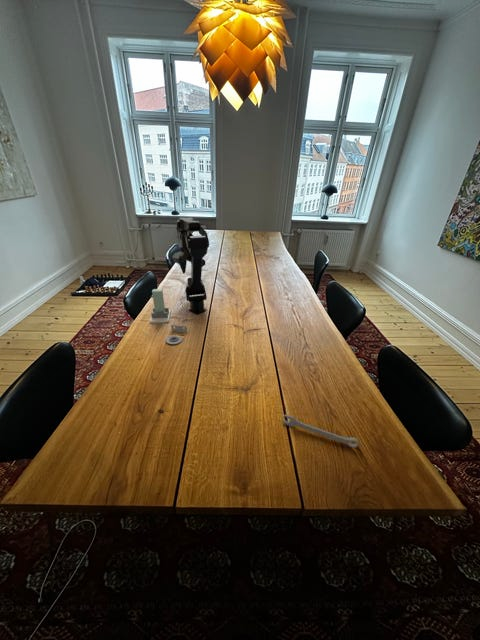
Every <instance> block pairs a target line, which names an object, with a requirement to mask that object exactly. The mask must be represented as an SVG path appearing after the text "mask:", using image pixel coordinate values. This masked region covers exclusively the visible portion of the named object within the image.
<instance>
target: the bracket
mask: <svg viewBox="0 0 480 640" xmlns="http://www.w3.org/2000/svg"><path fill="white" fill-rule="evenodd" d="M170 327H171V328H170V329H171V332H175V331H176V332H177V333H178V332H179V333H188V332H187V326H186V325H180V324H171V325H170ZM172 339H173V340H172ZM184 339H185V336H184V337H183V338H181V337H180V336H179V337H177V336H176V335H175V336H173V335H171V336H170V335H169V334H168V336H167V337H166V339H165V343H166V344H170V345H177V344H181V343H182V342H183V340H184Z"/></svg>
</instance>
